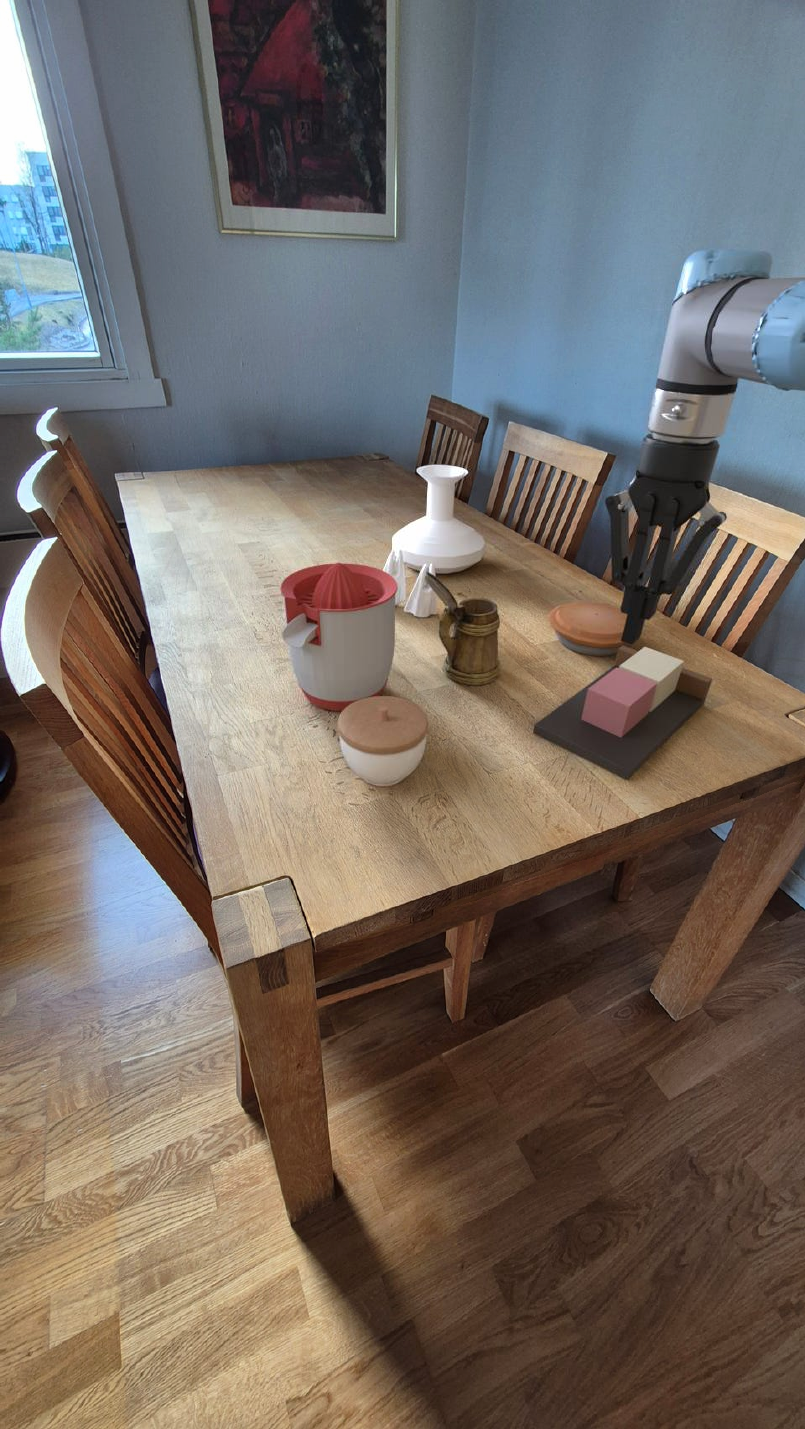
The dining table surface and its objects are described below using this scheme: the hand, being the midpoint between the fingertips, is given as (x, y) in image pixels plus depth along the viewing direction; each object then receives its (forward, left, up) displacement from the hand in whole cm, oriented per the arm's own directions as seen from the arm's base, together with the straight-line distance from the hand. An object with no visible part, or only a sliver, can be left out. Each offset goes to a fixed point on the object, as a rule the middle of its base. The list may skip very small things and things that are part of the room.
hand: (630, 638), depth 78 cm
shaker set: (+46, -8, -15) cm, 49 cm away
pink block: (0, -2, -13) cm, 13 cm away
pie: (+15, -22, -15) cm, 31 cm away
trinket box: (+16, +28, -15) cm, 35 cm away
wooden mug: (+24, +3, -15) cm, 28 cm away
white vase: (+57, -30, -15) cm, 66 cm away
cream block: (0, -11, -13) cm, 17 cm away
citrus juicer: (+33, +20, -15) cm, 41 cm away
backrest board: (0, -4, -14) cm, 15 cm away
